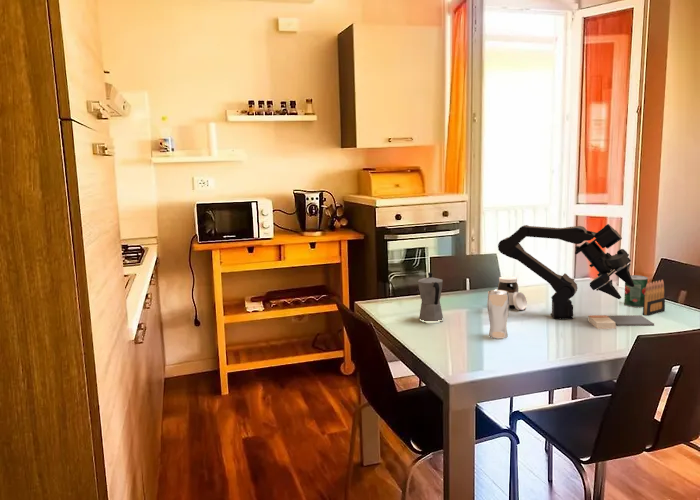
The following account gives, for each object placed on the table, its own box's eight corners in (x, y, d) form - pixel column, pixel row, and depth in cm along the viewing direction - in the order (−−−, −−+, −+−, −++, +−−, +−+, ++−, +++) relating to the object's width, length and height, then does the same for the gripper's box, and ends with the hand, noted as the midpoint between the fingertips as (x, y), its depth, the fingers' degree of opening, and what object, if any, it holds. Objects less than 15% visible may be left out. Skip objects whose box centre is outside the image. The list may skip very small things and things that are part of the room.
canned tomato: (650, 307, 215) (651, 278, 213) (629, 307, 215) (630, 279, 214) (640, 302, 223) (641, 274, 221) (620, 302, 223) (621, 275, 222)
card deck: (596, 329, 191) (597, 322, 191) (588, 322, 200) (588, 315, 199) (615, 329, 190) (615, 322, 190) (606, 322, 199) (606, 315, 199)
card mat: (617, 325, 193) (617, 324, 193) (606, 317, 204) (606, 315, 204) (654, 325, 192) (654, 323, 192) (641, 316, 202) (641, 315, 202)
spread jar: (500, 303, 230) (500, 274, 229) (529, 305, 225) (529, 276, 224) (494, 310, 220) (494, 280, 218) (524, 312, 215) (524, 282, 213)
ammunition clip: (647, 315, 204) (648, 283, 202) (642, 314, 205) (643, 282, 204) (664, 311, 209) (666, 279, 207) (659, 310, 211) (661, 278, 209)
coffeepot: (413, 316, 214) (412, 270, 211) (437, 314, 216) (436, 268, 213) (425, 327, 199) (424, 277, 196) (451, 325, 201) (450, 276, 198)
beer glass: (485, 333, 190) (485, 289, 188) (506, 333, 190) (506, 289, 187) (489, 339, 183) (489, 294, 181) (511, 339, 183) (511, 294, 181)
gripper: (599, 257, 185) (631, 295, 182) (626, 234, 195) (657, 270, 192) (576, 271, 195) (606, 308, 192) (603, 249, 205) (633, 284, 201)
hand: (626, 292), depth 194 cm, fingers open, 9 cm apart
